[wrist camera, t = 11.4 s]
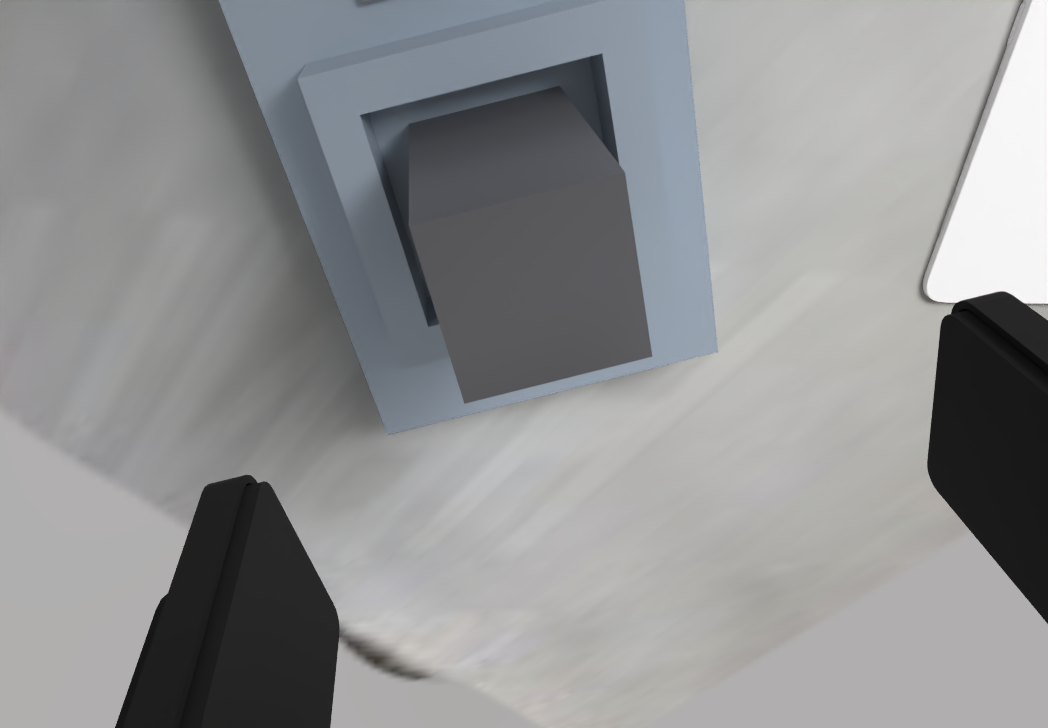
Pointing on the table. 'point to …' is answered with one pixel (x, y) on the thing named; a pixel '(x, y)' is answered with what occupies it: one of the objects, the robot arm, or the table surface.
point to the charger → (525, 244)
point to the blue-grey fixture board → (454, 85)
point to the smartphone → (1003, 183)
